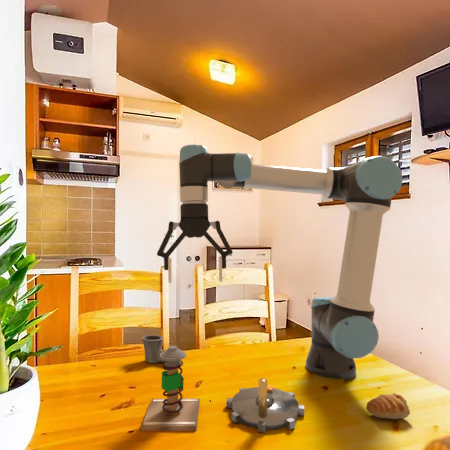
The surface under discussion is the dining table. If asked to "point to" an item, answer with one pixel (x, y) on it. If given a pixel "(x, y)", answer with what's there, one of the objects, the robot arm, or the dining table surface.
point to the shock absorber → (172, 378)
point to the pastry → (388, 406)
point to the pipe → (152, 348)
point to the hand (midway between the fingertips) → (195, 281)
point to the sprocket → (265, 407)
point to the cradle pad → (172, 416)
